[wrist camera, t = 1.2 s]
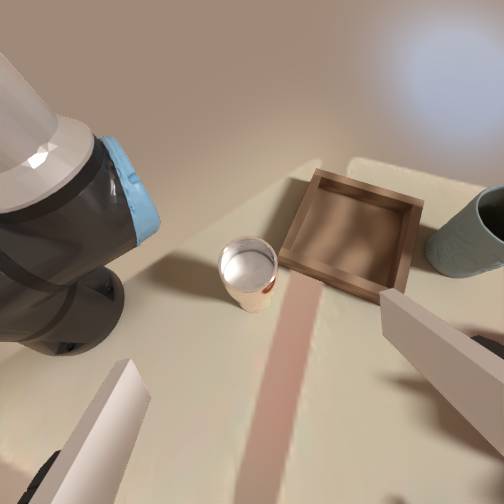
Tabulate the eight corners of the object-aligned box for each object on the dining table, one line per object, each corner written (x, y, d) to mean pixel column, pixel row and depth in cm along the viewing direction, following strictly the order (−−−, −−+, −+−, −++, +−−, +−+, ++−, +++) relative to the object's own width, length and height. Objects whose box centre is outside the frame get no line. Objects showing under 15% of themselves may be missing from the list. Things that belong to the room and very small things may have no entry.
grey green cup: (431, 284, 38) (499, 257, 27) (410, 230, 42) (462, 187, 31) (494, 279, 38) (589, 249, 27) (467, 224, 42) (540, 179, 31)
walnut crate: (276, 263, 41) (277, 255, 37) (312, 182, 47) (316, 168, 44) (388, 308, 37) (401, 303, 33) (410, 213, 43) (424, 200, 40)
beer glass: (251, 266, 41) (243, 223, 27) (283, 290, 39) (292, 258, 25) (224, 296, 39) (202, 267, 25) (256, 324, 37) (251, 309, 23)
